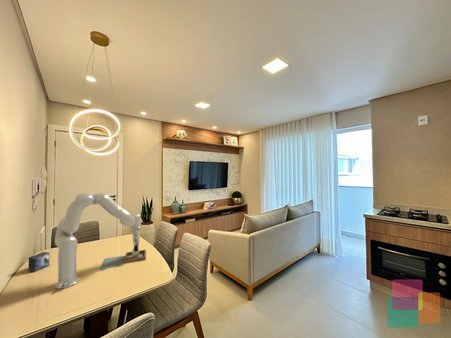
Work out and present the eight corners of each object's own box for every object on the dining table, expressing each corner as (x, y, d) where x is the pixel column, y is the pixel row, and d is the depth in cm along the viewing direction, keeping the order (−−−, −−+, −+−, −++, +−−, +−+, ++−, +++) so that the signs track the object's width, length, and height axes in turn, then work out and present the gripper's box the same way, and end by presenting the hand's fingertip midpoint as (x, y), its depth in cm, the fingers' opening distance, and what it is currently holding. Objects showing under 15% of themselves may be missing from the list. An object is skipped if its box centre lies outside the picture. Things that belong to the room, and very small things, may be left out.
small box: (34, 272, 144) (34, 258, 144) (27, 271, 146) (27, 257, 146) (50, 265, 155) (50, 252, 155) (43, 264, 156) (43, 251, 156)
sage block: (138, 258, 165) (138, 249, 165) (132, 259, 164) (132, 250, 164) (139, 255, 170) (139, 247, 170) (132, 256, 168) (132, 248, 168)
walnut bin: (145, 260, 162) (145, 256, 162) (124, 263, 156) (124, 260, 156) (146, 252, 177) (145, 249, 177) (126, 255, 171) (126, 252, 171)
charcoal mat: (120, 266, 152) (120, 266, 152) (99, 270, 147) (99, 269, 147) (123, 256, 170) (123, 255, 171) (105, 259, 165) (105, 258, 165)
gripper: (140, 231, 160) (140, 252, 161) (140, 225, 177) (141, 244, 177) (130, 232, 158) (130, 253, 158) (131, 226, 174) (132, 245, 174)
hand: (136, 248), depth 167 cm, fingers open, 9 cm apart
